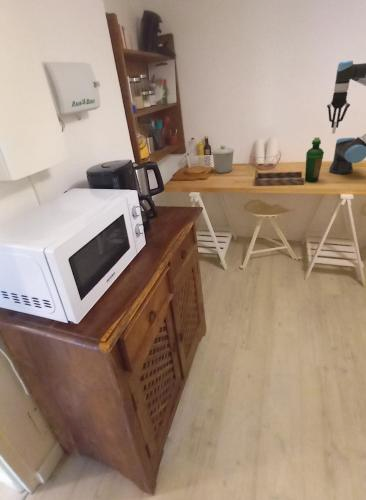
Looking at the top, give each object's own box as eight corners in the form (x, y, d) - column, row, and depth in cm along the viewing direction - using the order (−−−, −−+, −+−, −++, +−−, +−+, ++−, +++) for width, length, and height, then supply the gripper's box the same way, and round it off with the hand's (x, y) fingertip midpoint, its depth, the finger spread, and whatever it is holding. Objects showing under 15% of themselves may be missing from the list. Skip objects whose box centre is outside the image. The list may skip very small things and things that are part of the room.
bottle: (321, 182, 196) (327, 139, 182) (304, 183, 198) (309, 140, 184) (318, 177, 205) (324, 135, 190) (302, 178, 207) (306, 136, 193)
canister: (239, 170, 240) (239, 143, 229) (224, 175, 230) (223, 148, 219) (222, 167, 252) (221, 141, 241) (208, 172, 242) (206, 146, 231)
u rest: (300, 176, 210) (301, 168, 207) (303, 184, 196) (304, 175, 193) (255, 178, 218) (255, 170, 215) (254, 185, 204) (254, 177, 201)
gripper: (352, 90, 176) (344, 131, 188) (328, 91, 180) (322, 132, 192) (353, 91, 170) (345, 134, 182) (329, 92, 174) (322, 134, 186)
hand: (333, 133), depth 187 cm, fingers closed
